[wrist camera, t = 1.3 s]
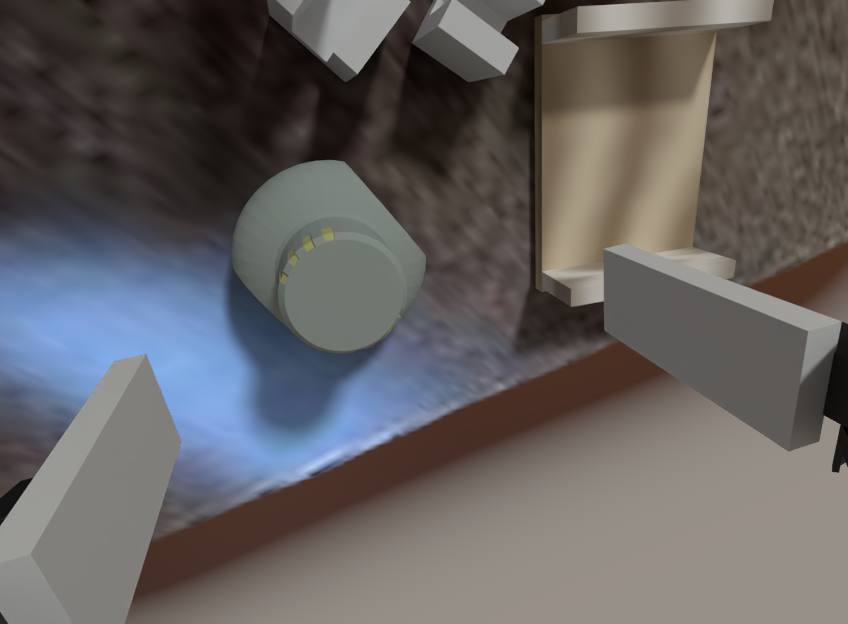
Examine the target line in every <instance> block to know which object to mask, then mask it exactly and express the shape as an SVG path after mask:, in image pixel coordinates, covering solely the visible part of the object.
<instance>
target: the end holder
mask: <svg viewBox="0 0 848 624" xmlns="http://www.w3.org/2000/svg"><path fill="white" fill-rule="evenodd" d="M773 2H774V0H689V1H670V2H652V3H633V4H615V5H596V6H578V7H575V8H573V9H570V10H568V11H565V12H563V13H560V14H548V15H540V16H538V17H536V18H534V58H535V269H536V289H538V290H539V291H541V292H546V291H547V292H549V293H550V294H552V295H553V296H555V297H556V298H558V299H559V300H561V301H562V302H564V303H565V304H567V305H569V306H570V307H574V306H579V305H585V304H591V303H596V302H602V301H604V260H603V249H604V248H609V247H613V246H617V245H622V244H628V245H631V246H634V247H637V248H639V249H642V250H645V251H648V252H650V253H653V254H656V255H659V256H661V257H664V258H667V259H670V260H673V261H675V262H678V263H681V264H684V265H686V266H689V267H692V268H695V269H697V270H700V271H703V272H706V273H709V274H711V275H714V276H717V277H720V278H722V279H729V278H733V277H734V270H735V263H736V260H733V259H730V258H726V257H723V256H720V255H717V254H713V253H710V252H707V251H704V250H700V249H697V248H694V247H692V246H693V237H694V228H695V219H696V210H697V201H698V192H699V183H700V174H701V165H702V157H703V148H704V139H705V130H706V121H707V112H708V103H709V94H710V85H711V76H712V67H713V58H714V49H715V40H716V32H719V31H723V30H728V29H733V28H738V27H742V26H747V25H752V24H757V23H761V22H766V21H771V16H772V9H773Z"/></svg>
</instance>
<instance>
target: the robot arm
mask: <svg viewBox="0 0 848 624" xmlns="http://www.w3.org/2000/svg"><path fill="white" fill-rule="evenodd" d="M603 260H604V331H606V332H607V333H609V334H610V335H612V336H613V337H615V338H616V339H618V340H620V341H621V342H623V343H624V344H626V345H627V346H629V347H630V348H632V349H633V350H635V351H636V352H638V353H640V354H641V355H642V356H644V357H646V358H647V359H649V360H650V361H652V362H653V363H655V364H656V365H658V366H659V367H661V368H662V369H664V370H665V371H667V372H669V373H670V374H671V375H673V376H674V377H676V378H677V379H679V380H681V381H682V382H684V383H685V384H687V385H688V386H690V387H691V388H693V389H694V390H696V391H697V392H699V393H700V394H702V395H703V396H705V397H706V398H708V399H710V400H711V401H713V402H714V403H716V404H717V405H719V406H720V407H722V408H723V409H725V410H726V411H728V412H729V413H731V414H732V415H734V416H736V417H737V418H739V419H740V420H742V421H743V422H745V423H746V424H748V425H749V426H751V427H753V428H754V429H755V430H757V431H759V432H760V433H761V434H763V435H765V436H766V437H768V438H769V439H771V440H772V441H774V442H775V443H777V444H778V445H780V446H781V447H783V448H784V449H786V450H787V451H791V450H794V449H797V448H800V447H803V446H806V445H809V444H812V443H815V442H818V441H819V439H820V434H821V429H822V423H823V418H824V415H825V416H826V417H828V418H830V419H832V420H834V421H836V422H837V423H839V424H841V425H840V430H839V435H838V440H837V445H836V450H835V455H834V459H833V464H832V472H839V469H840V465H842V464H844V463H846V464H847V466H848V324H846V323H844V322H841V321H839V320H836V319H833V318H830V317H827V316H825V315H822V314H819V313H816V312H814V311H811V310H808V309H805V308H803V307H800V306H797V305H794V304H791V303H789V302H786V301H783V300H780V299H778V298H775V297H772V296H769V295H767V294H764V293H761V292H758V291H756V290H753V289H750V288H747V287H744V286H742V285H739V284H736V283H733V282H731V281H728V280H725V279H722V278H720V277H717V276H714V275H711V274H709V273H706V272H703V271H700V270H697V269H695V268H692V267H689V266H686V265H684V264H681V263H678V262H675V261H673V260H670V259H667V258H664V257H661V256H659V255H656V254H653V253H650V252H648V251H645V250H642V249H639V248H637V247H634V246H631V245H628V244H622V245H617V246H613V247H609V248H604V249H603ZM180 444H181V439H180V437H179V434H178V432H177V429H176V427H175V424H174V422H173V419H172V417H171V415H170V412H169V410H168V407H167V405H166V402H165V400H164V397H163V395H162V392H161V390H160V387H159V385H158V382H157V380H156V377H155V375H154V372H153V370H152V367H151V365H150V362H149V360H148V358H147V355H146V354H144V355H140V356H136V357H131V358H127V359H123V360H118V361H114V363H113V364H112V365H111V367H110V368H109V370H108V371H107V373H106V374H105V376H104V377H103V378H102V380H101V381H100V383H99V384H98V386H97V387H96V389H95V390H94V391H93V393H92V394H91V396H90V397H89V399H88V400H87V402H86V403H85V404H84V406H83V407H82V409H81V410H80V412H79V413H78V415H77V416H76V417H75V419H74V420H73V422H72V423H71V425H70V426H69V428H68V429H67V430H66V432H65V433H64V435H63V436H62V438H61V439H60V441H59V442H58V443H57V445H56V446H55V448H54V449H53V451H52V452H51V454H50V455H49V456H48V458H47V459H46V461H45V462H44V464H43V465H42V467H41V468H40V469H39V471H38V472H37V474H36V475H35V477H34V478H30V479H26V480H23V481H20V482H19V483H18V484H17V485H16V486H14V487H13V488H12V489H11V490H10V491H8V492H7V493H6V494H5V495H4V496H2V497H1V498H0V624H125V620H126V617H127V614H128V611H129V608H130V604H131V602H132V598H133V595H134V592H135V589H136V586H137V582H138V579H139V576H140V572H141V570H142V566H143V563H144V560H145V557H146V553H147V550H148V547H149V544H150V541H151V537H152V534H153V531H154V528H155V525H156V521H157V518H158V515H159V512H160V509H161V505H162V502H163V499H164V496H165V493H166V489H167V486H168V483H169V480H170V477H171V473H172V470H173V467H174V464H175V460H176V457H177V454H178V451H179V448H180Z"/></svg>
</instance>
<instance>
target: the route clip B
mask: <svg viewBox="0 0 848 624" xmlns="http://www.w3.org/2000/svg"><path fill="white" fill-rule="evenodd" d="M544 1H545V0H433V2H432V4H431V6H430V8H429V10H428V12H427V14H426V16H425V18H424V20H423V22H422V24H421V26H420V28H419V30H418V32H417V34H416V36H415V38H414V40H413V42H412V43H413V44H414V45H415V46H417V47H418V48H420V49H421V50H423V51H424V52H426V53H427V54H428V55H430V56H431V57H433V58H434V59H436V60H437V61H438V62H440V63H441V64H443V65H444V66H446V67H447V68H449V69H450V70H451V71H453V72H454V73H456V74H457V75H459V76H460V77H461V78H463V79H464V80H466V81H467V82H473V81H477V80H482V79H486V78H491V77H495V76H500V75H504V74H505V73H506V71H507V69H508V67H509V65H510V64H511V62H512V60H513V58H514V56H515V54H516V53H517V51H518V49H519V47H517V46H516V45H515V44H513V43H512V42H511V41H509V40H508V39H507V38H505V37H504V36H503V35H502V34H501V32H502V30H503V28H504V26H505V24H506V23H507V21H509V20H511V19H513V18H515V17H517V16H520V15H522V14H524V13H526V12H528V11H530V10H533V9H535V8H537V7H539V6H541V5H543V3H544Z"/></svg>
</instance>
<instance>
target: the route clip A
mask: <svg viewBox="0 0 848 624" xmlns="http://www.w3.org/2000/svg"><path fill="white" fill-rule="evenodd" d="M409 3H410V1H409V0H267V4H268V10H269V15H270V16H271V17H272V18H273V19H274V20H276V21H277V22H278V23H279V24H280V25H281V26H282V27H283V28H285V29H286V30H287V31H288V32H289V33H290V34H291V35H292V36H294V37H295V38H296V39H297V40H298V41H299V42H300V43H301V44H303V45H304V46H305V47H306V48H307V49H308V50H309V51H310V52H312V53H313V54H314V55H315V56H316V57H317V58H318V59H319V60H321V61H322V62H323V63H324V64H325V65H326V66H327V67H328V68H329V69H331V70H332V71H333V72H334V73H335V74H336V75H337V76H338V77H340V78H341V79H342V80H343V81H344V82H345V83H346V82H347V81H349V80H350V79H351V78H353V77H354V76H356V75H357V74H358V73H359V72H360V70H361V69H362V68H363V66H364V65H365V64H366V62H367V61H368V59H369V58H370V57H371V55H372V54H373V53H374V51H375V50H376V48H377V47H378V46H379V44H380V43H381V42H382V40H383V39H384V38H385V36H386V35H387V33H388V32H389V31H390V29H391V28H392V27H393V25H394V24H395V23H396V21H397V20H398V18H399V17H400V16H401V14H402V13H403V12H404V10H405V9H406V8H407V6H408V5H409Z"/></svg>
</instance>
